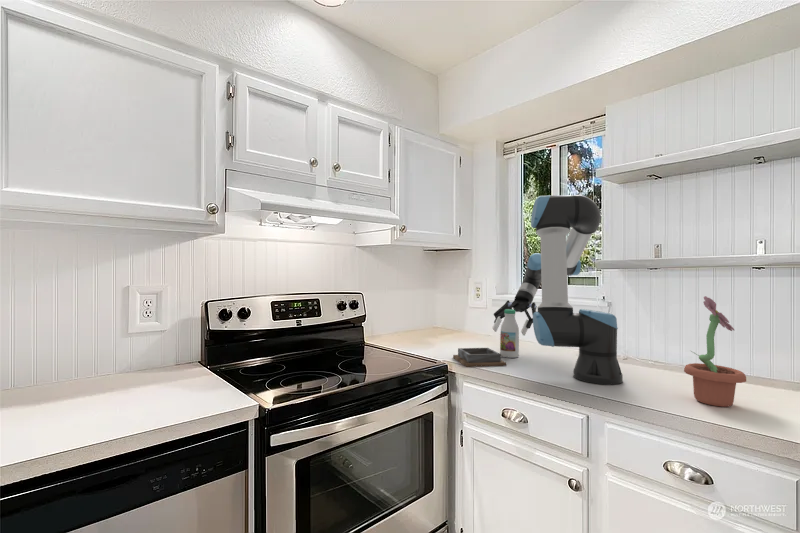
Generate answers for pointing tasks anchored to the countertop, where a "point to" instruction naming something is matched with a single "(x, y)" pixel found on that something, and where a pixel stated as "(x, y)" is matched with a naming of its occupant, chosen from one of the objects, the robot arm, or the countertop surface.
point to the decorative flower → (714, 368)
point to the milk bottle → (509, 335)
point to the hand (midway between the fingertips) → (508, 331)
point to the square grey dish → (478, 357)
